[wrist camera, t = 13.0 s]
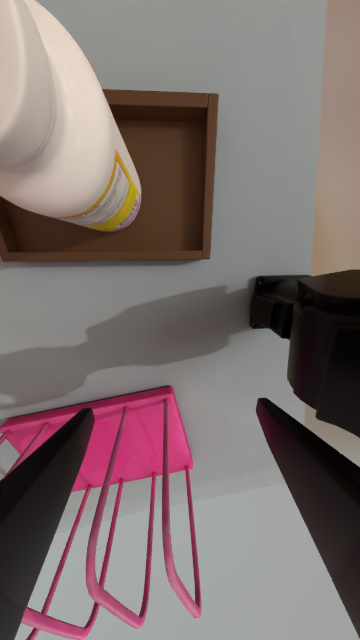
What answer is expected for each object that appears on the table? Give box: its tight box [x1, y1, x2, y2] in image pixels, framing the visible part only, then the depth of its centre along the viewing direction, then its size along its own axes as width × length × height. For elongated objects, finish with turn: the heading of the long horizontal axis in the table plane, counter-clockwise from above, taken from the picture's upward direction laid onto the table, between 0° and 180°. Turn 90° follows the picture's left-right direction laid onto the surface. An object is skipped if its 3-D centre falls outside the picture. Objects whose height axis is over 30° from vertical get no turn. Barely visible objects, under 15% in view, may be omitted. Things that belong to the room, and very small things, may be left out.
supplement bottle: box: [0, 0, 141, 232], centre depth 10 cm, size 7×7×13 cm
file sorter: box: [0, 386, 201, 640], centre depth 21 cm, size 17×25×16 cm
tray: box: [0, 89, 219, 261], centre depth 15 cm, size 20×12×2 cm, turn 91°
